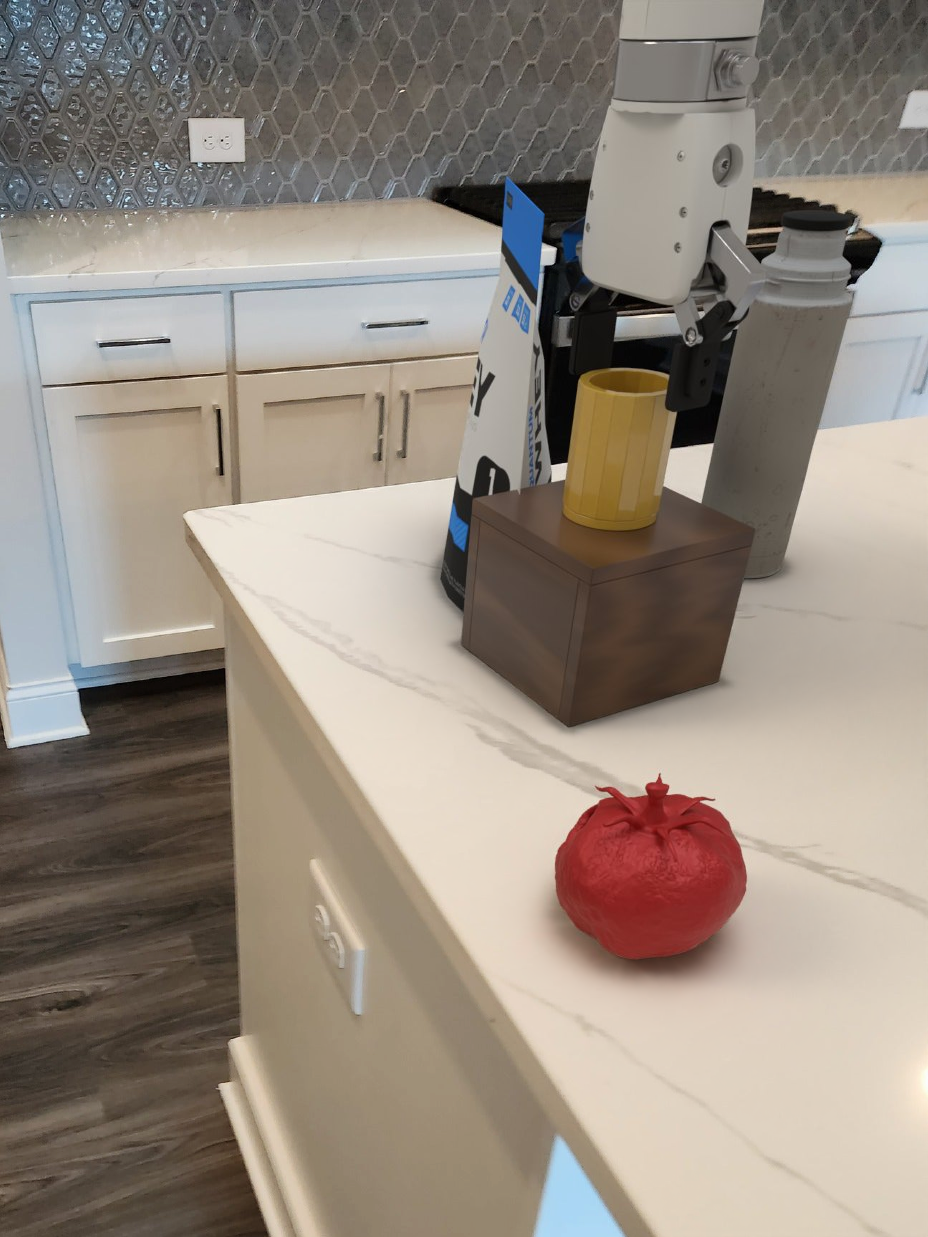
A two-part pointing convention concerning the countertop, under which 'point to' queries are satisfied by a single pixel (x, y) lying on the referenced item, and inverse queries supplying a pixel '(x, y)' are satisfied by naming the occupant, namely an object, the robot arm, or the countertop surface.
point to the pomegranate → (650, 872)
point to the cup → (618, 449)
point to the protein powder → (503, 391)
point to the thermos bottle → (780, 383)
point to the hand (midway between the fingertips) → (635, 388)
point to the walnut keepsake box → (601, 600)
